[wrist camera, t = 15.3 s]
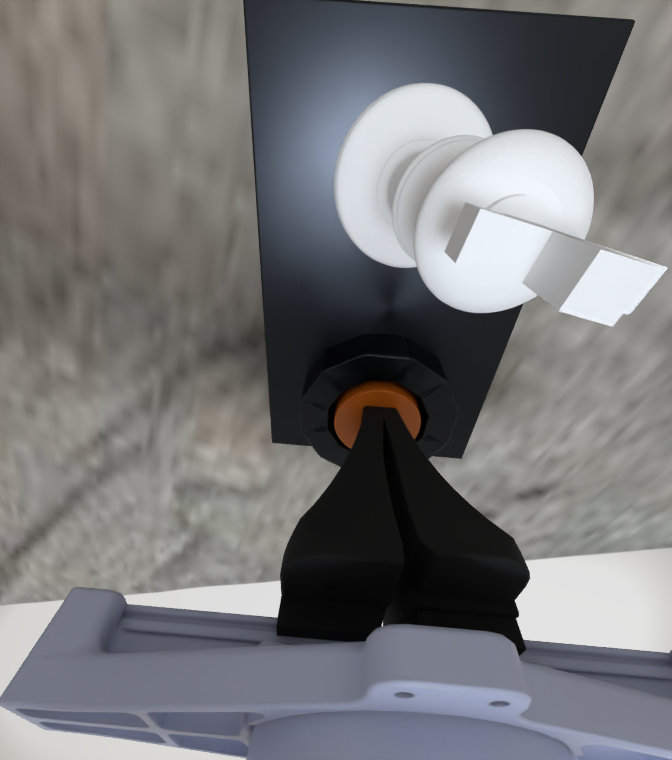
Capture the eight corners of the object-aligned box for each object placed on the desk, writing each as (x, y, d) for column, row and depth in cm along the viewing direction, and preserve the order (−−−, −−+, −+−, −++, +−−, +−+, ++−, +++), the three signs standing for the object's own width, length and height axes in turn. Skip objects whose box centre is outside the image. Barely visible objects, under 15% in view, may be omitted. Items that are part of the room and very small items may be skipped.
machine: (280, 415, 19) (264, 468, 16) (263, 22, 10) (218, -43, 7) (451, 429, 19) (471, 486, 16) (585, 44, 10) (695, -10, 7)
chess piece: (449, 281, 12) (645, 546, 4) (318, 243, 12) (223, 453, 3) (525, 115, 9) (1750, -198, 1) (359, 57, 9) (386, -1223, 1)
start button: (334, 425, 16) (331, 452, 15) (339, 363, 14) (337, 386, 13) (407, 432, 16) (411, 458, 15) (422, 370, 14) (429, 394, 13)
